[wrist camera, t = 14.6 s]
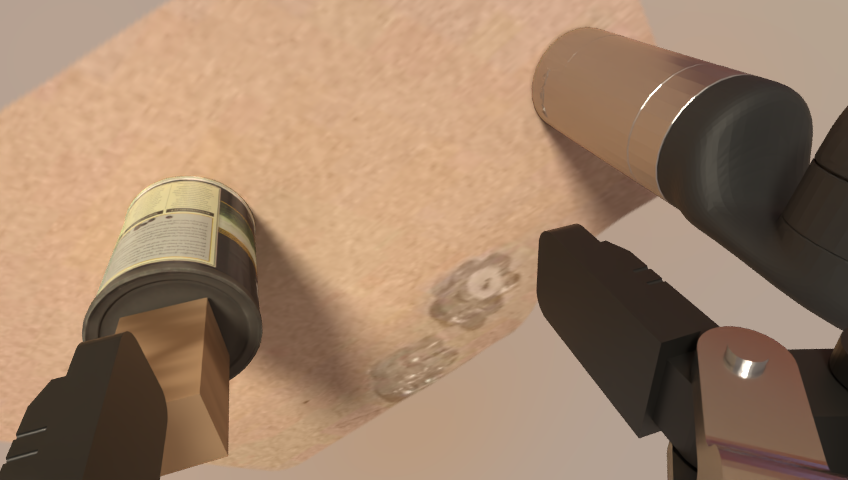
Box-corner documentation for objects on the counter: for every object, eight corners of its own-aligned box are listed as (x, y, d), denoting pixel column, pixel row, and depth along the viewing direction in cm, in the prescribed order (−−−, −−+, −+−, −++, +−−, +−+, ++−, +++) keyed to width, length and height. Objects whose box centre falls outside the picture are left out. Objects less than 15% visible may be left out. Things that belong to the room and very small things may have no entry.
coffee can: (277, 207, 46) (291, 304, 34) (221, 295, 48) (216, 412, 37) (157, 150, 40) (126, 242, 29) (102, 252, 43) (52, 373, 31)
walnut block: (206, 297, 32) (199, 393, 25) (229, 355, 35) (228, 456, 28) (119, 317, 31) (88, 423, 24) (150, 376, 34) (129, 485, 27)
